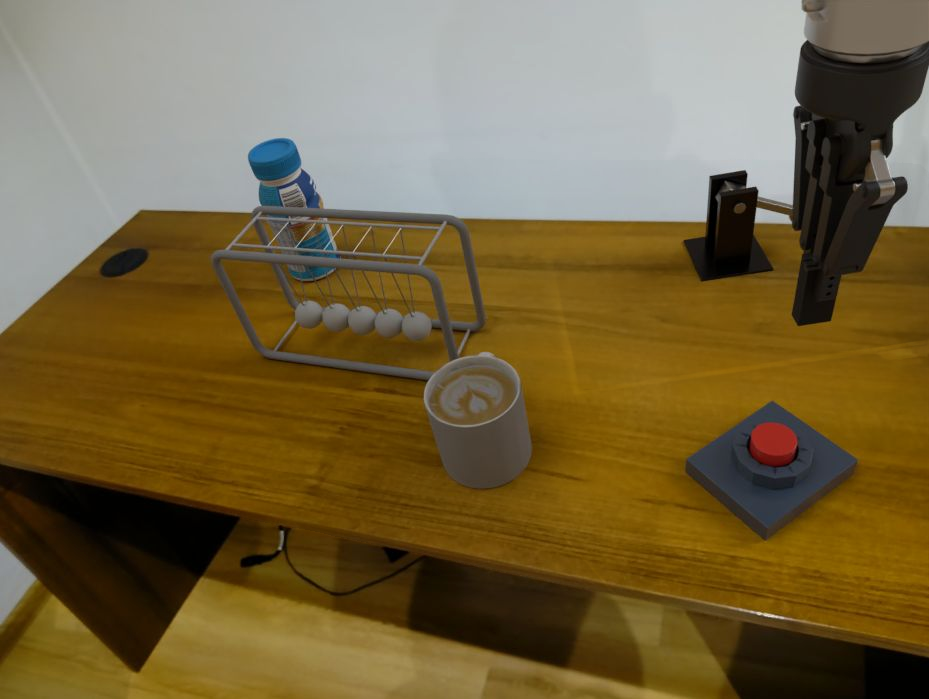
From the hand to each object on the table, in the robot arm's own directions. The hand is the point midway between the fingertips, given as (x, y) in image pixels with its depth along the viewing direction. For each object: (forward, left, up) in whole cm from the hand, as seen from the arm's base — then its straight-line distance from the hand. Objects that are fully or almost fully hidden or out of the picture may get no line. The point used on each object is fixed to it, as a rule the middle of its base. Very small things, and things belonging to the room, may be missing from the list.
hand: (811, 317), depth 61 cm
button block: (+3, +3, -17) cm, 18 cm away
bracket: (-3, -31, -17) cm, 36 cm away
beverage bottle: (+55, -45, -18) cm, 73 cm away
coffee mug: (+30, -6, -18) cm, 35 cm away
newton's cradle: (+45, -25, -17) cm, 54 cm away
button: (+3, +3, -14) cm, 14 cm away
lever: (-7, -31, -11) cm, 34 cm away
